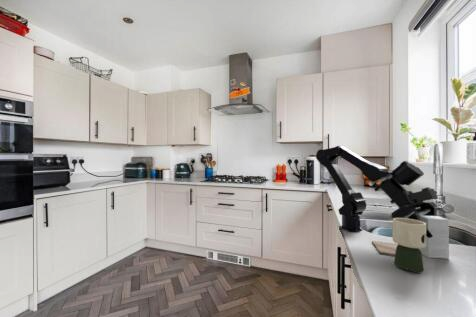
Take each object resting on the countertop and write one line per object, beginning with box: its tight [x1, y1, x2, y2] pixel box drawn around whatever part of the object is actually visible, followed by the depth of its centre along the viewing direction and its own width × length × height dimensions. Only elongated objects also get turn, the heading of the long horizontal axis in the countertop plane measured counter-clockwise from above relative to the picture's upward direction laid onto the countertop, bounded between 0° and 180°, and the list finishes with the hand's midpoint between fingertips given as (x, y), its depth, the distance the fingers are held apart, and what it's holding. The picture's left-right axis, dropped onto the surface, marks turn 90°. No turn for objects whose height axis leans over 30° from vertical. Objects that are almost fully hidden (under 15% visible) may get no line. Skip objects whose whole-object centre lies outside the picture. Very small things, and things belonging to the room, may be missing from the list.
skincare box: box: [420, 215, 450, 259], centre depth 65 cm, size 6×4×12 cm
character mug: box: [392, 218, 426, 273], centre depth 57 cm, size 11×7×13 cm, turn 146°
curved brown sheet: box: [371, 240, 398, 257], centre depth 69 cm, size 10×8×1 cm
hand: (438, 234), depth 64 cm, fingers open, 9 cm apart
